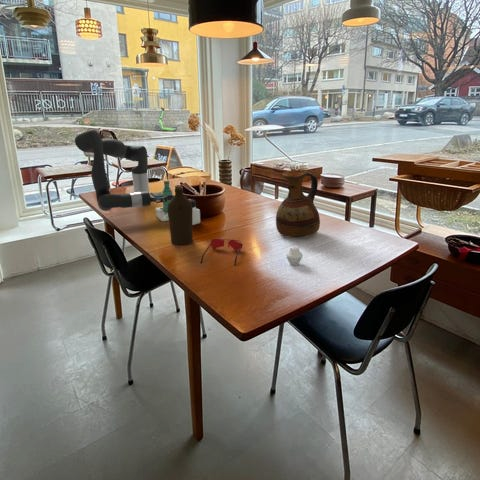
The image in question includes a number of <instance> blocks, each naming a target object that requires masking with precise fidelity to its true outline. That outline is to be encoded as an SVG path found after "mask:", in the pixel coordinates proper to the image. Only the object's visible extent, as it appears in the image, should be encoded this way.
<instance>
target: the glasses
mask: <svg viewBox="0 0 480 480" xmlns="http://www.w3.org/2000/svg"><path fill="white" fill-rule="evenodd" d="M225 241H226V239H224V238H223V239H222V238H212V239H211V241H210V244H209V245H208V246H207V248H206V250H205V251H204V252H203V254H202V255H201V259H200V264H202V262H203V260H204V256H205V254H207V251H208V250H209V249H210V247H211V248H212V249H213V250H214V249H217V248H221V247H224V246H225ZM243 246H244V245H243V243H242V242H241V241H240V240H236V239H230V240H228V241H227V247H228V248H230V247H231V248H232V249H233V250H234V251H238V252H237V253H236V255H235V258H234V267H236V266H237V259H238V255H239V254H240V252H241V249H242V248H243Z"/></svg>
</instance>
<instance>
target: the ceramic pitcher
mask: <svg viewBox="0 0 480 480" xmlns="http://www.w3.org/2000/svg"><path fill="white" fill-rule="evenodd" d="M282 176H283V177H284V178H285V180H287V189H288V194H287V197H285V198H284V199H283V201H281V203H280V205H279V206H278V208H277V211H276V216H275V227H276V230H277V232H278V233H279V234H280V235H282V236H284V237H288V238H297V239H298V238H304V237H309V236H313V235H314V234H315V233H317V232H319V230H320V226H321V219H320V214H319V211H318V209H317V207H316V205H315V204H314V203H315V202H314V201H315V197H316V194H317V191H318V185H319V184H318V183H319V181H318V179H317V177H316V176H315V174H313V173H312V172H309V171H308V170H305V169H293V170H286V171H283V172H282ZM306 177H310V181H311V182H310V184H311V185H310V189H309V192H308V195H304V192H303V186H302V185H303V180H304V178H306Z"/></svg>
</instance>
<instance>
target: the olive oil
mask: <svg viewBox="0 0 480 480" xmlns="http://www.w3.org/2000/svg"><path fill="white" fill-rule="evenodd" d="M188 199H189V198H187V196H185V195H184V188H183V185H181V184H177V185H175V186H174V197H173V198H172V199H171V200H170V202H169V203H168V207H167V210H168V217H169V220H168V225H169V231H170V232H169V234H170V242H171V243H172V245H176V246H185V245H189V244H191V243H192V242H193V240H194V238H193V225H192V204H191V202H190V201H189V200H188Z"/></svg>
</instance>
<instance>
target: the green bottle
mask: <svg viewBox="0 0 480 480" xmlns="http://www.w3.org/2000/svg"><path fill="white" fill-rule="evenodd" d="M170 182H171V181H170V180H163V189H162V190H161V193H162V195H163V196H169V195H174V194H173V189H172V188H171V187H170V186H171V185H170ZM163 199H164V198H163ZM169 202H170V200H167V202H162V207H163V212H165V213H168V210H167V207H168V203H169Z"/></svg>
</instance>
